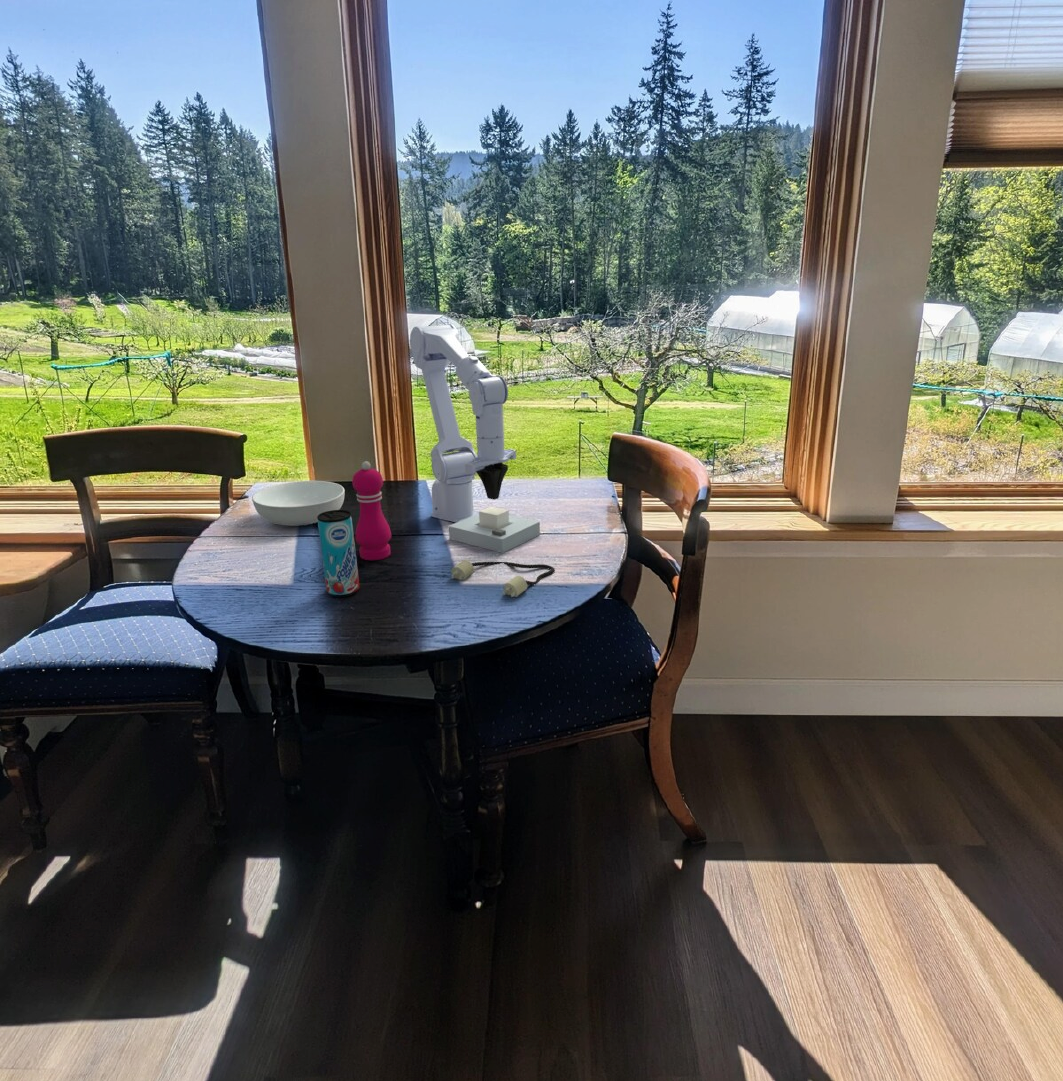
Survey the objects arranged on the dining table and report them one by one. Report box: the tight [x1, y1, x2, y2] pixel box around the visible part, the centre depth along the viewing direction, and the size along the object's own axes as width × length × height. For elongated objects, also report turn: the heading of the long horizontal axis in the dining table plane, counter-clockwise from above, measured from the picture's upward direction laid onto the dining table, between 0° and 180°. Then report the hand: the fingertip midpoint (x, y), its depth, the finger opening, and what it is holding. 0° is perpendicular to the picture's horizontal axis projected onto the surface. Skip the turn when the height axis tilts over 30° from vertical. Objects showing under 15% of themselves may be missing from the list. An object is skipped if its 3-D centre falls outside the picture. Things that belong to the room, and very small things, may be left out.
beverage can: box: [317, 509, 360, 598], centre depth 137 cm, size 6×6×15 cm
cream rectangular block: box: [478, 506, 510, 529], centre depth 164 cm, size 5×4×6 cm
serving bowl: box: [251, 480, 346, 527], centre depth 178 cm, size 21×21×7 cm
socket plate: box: [448, 514, 541, 554], centre depth 164 cm, size 15×13×4 cm
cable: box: [450, 559, 556, 598], centre depth 144 cm, size 16×16×4 cm
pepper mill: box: [352, 460, 392, 561], centre depth 153 cm, size 7×7×20 cm
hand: (493, 498), depth 162 cm, fingers closed
